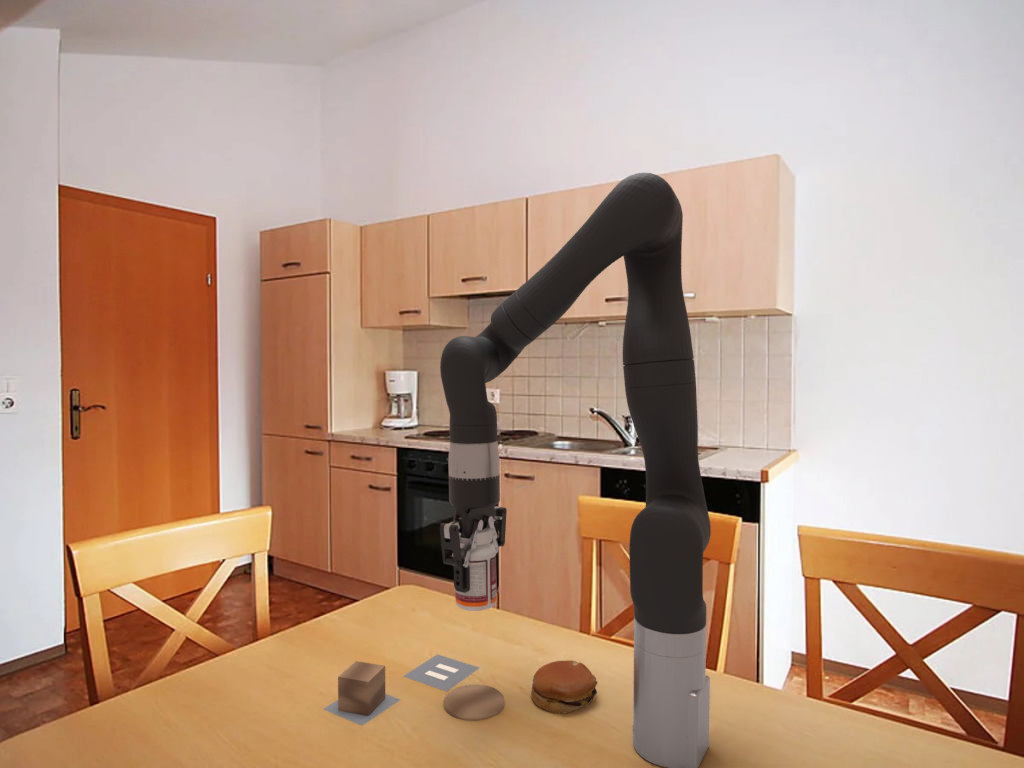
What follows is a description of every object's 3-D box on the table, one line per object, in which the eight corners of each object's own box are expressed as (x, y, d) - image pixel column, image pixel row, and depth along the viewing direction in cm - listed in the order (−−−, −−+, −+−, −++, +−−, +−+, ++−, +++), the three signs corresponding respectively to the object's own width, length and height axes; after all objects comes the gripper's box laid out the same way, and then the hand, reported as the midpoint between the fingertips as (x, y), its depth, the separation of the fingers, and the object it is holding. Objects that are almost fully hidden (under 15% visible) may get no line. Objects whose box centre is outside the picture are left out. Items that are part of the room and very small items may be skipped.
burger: (525, 710, 93) (526, 679, 93) (539, 680, 102) (539, 651, 102) (592, 721, 90) (593, 689, 90) (600, 688, 99) (601, 659, 99)
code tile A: (479, 668, 105) (479, 667, 105) (446, 692, 98) (446, 691, 98) (437, 654, 110) (437, 654, 110) (402, 676, 102) (402, 676, 102)
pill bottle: (480, 593, 98) (479, 521, 98) (505, 605, 93) (504, 529, 93) (447, 603, 94) (445, 528, 94) (471, 615, 89) (469, 536, 89)
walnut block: (385, 698, 96) (385, 665, 95) (368, 715, 91) (368, 681, 91) (356, 693, 97) (355, 661, 97) (338, 710, 92) (338, 676, 92)
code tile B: (400, 700, 95) (400, 699, 95) (362, 726, 88) (362, 725, 88) (362, 685, 99) (362, 685, 99) (322, 709, 93) (322, 708, 93)
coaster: (515, 698, 96) (515, 694, 96) (481, 728, 88) (481, 723, 88) (467, 682, 100) (467, 678, 100) (431, 709, 93) (431, 705, 93)
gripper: (465, 482, 85) (467, 605, 86) (521, 466, 97) (522, 574, 98) (422, 477, 89) (425, 595, 90) (481, 463, 101) (482, 566, 102)
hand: (476, 583), depth 94 cm, fingers closed on pill bottle, 6 cm apart
